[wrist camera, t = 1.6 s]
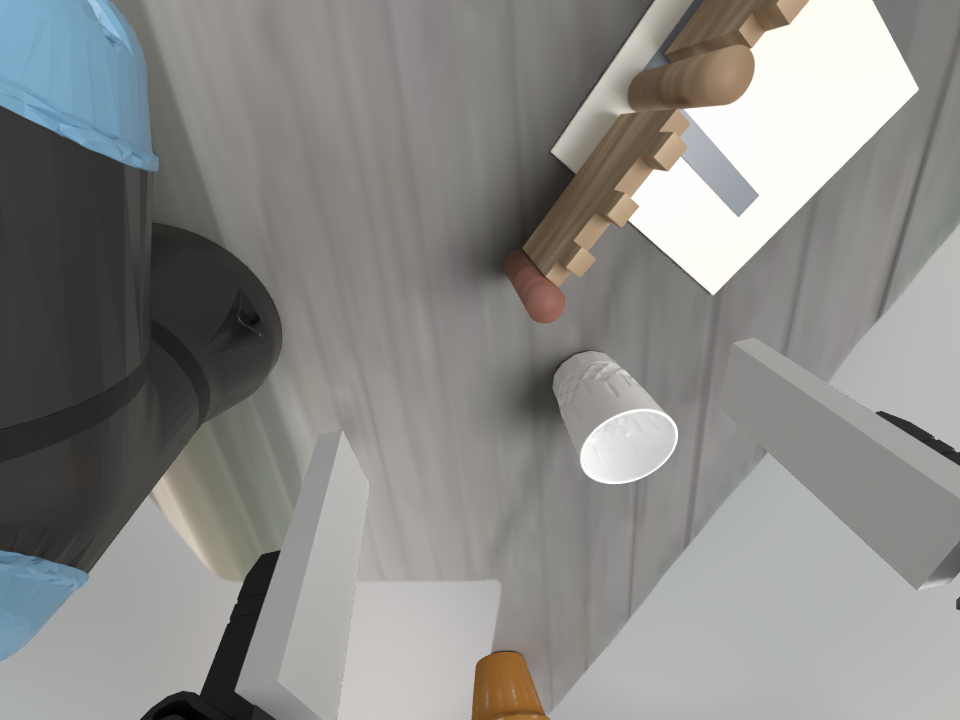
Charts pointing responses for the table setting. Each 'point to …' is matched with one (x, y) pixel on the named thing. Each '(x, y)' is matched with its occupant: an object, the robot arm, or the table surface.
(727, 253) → the card
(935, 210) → the table surface
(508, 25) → the table surface
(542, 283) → the swing panel
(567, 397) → the white cup
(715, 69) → the wooden castle wall
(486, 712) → the flower pot
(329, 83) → the table surface
